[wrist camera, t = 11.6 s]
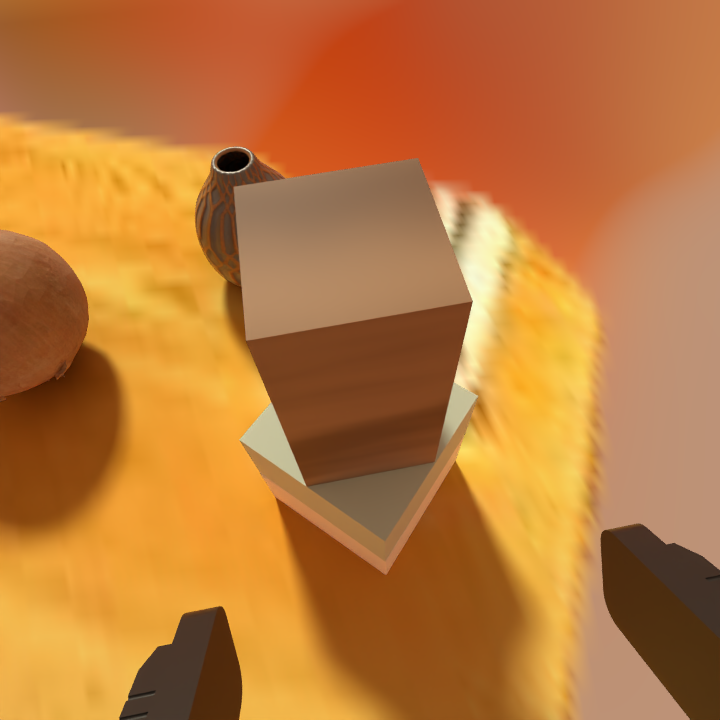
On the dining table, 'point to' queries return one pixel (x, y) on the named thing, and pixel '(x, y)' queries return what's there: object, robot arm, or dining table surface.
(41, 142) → the dining table surface
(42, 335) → the onion
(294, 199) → the column
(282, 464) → the tower mid
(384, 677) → the dining table surface
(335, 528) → the tower base
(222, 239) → the vase
